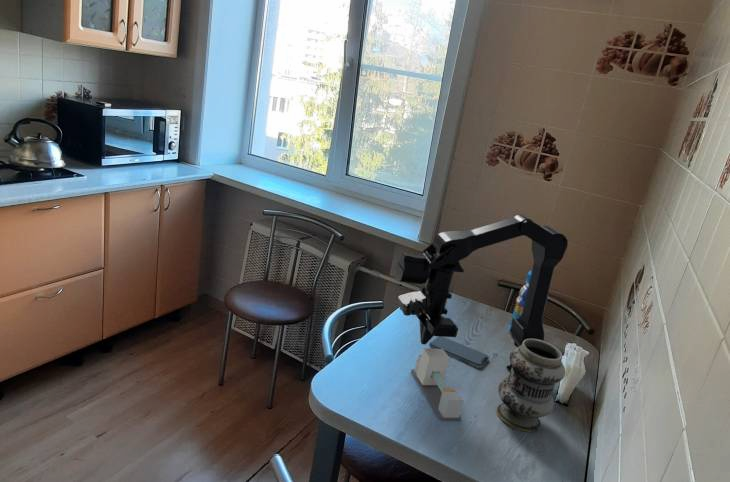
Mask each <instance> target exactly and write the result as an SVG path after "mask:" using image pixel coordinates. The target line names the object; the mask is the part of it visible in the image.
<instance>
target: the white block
mask: <svg viewBox="0 0 730 482" xmlns="http://www.w3.org/2000/svg"><path fill="white" fill-rule="evenodd" d="M421 355H422V356H421V360H420V363H419V367H418V371H417V377H418V378H419V380H420V382H421V384H422V385H437V384H436V382H435V381H434V379H433V378H432V376H431V375H432V371H436V372H438V373H439V375H440V376H441V378H442V379H443V381H444V380H445V376H446V372H447V371H448V370H447V369H448V366H449V362H450V356H449V355H447V354H446V353H445V351H444V350H443V349H434V348H432V347H430V348H429V347H428V348H426V347H424V348H422V352H421Z"/></svg>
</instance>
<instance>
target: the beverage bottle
mask: <svg viewBox="0 0 730 482" xmlns="http://www.w3.org/2000/svg"><path fill="white" fill-rule="evenodd" d="M531 273H532V270H529V271H528V273H527V275H526V279H525V283H526V284H524V285H523V286H522V287H521V289H520V290H519V295H518V297H516V301H515V306H514V309H513V312H512V316H511V319H510V322H509V325H508V328H507V330H508V331H509V330H510V329H511V326H512V319H513V318H515V319H518V318H519V317H520V316H521V315H522V313H523V309H524V305H525V300H526V296H527V291H528V287H529V282H530V278H531ZM547 302H548V300H547V301H546V303H547ZM545 309H546V308H545ZM545 309H544V311H545Z"/></svg>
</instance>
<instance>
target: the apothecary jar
mask: <svg viewBox="0 0 730 482" xmlns="http://www.w3.org/2000/svg"><path fill="white" fill-rule="evenodd" d="M562 359H563V354H562V352H561V350H560V349H559V348H557V347H556V346H554V345H553V344H551V343H549V342H547V341H545V340H544V341H542V340H539V339H526V340H524V341H523V342H522V345H521V346H519V347H516V346H515V348H513V349H512V350H511V351H510V353H509V361H510V363H511V365H512V369H511V372H510V371H509V374H508V377H505V378H503V380H501V382H500V383H499V385H498V390H497V391H498V395H499V398H500V400H501V402H502V403H500V404H499V405H498V406H497V408H496V413H497V416H498V417H499V419H500V420H501V421H502V422H503V423H505V424H506V425H507V426H510V427H511V428H512V429H515V430H517V431H520V432H526V433H531V432H533V431H539V430H540V428H541V426H542V424H541V420H540V418H543V417H547V416H548V415H550V414H551V412H552V411H553V409H554V404H555V403H554V399H553V396H552V394H553V390H554V387H555V385H556V384H557V383H560V382H562V380H563V379H564V377H565V376H566V368H565V365H564V364H563V361H562Z"/></svg>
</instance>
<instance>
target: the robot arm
mask: <svg viewBox="0 0 730 482" xmlns="http://www.w3.org/2000/svg"><path fill="white" fill-rule="evenodd" d="M523 236H525V237H527V238H529V239H530V240H531V254H532V258H533V265H532V270H531V271H532V273H531V278H530V282H529V287H528V291H527V296H526V300H525V305H524V309H523V313H522V315H521V316H520V317H519V318H518V319H515V318H513V319H512V318H511V319H512V326H511V329H510V330H508V333H509V334H510V336H511V339H512V340H513V343H514V344H513V345H514V346H515V348H516V347H519V346H521V345H522V342H523V341H524V340H526V339H539V340H542V341H545V331H544V324H543V317H544V312H545V310H544V309H546V306H547V305H546V304H547V302H548V297H549V292H550V288H551V283H552V280H553V274H554V270H555V268H556V266H557V265H558V264H560V262H561V261H562V260H563V258H564V257H565V253H566V251H567V249H568V246H569V241H568V239H567V237H566V235H564V234H563V233H561V232H560V231H557V230H556V229H555V228H553V227H551V226H549V225H542V226H541V225H540V224H537V223H536V222H535V221H533V220H532V219H531V218H529V217H527V216H526V215H524V214H517V215H514V217H510V218H506V219H504V220H500V221H497V222H493V223H491V224H487V225H484V226H480V227H476V228H474V229H470V230H469V229H468V230H448V231H441V232H440V233H438V234H436V235H435V237H434V238H433V241H432V242H431V243H430V244H429V245H428V246H427V247H426V248H424V249H423V250H422V251H421V252H420V254H421V255H418V254H411V253H408V252H402V256H401V257H400V258H399V260H398V262H397V263H396V267H395V279H396V280H395V281H396V282H397V283H403V284H415V285H419V286H420V285H421V286H420V288H419V290H413V289H411V290H410V291H409V292H407V293H404V294H401V295H399V296H398V298H397V299H398V304H399V310H400V311H401V312H402V313H403V315H404V316H411V315H412V316H416V317H417V319H418V321H419V332H420V333H419V336H420V343H421V345H424V346H426V345H427V344H428V343H429V341H430V340H432V338H433V337H439V336H441V337H445V338H447V337H448V338H456V337H457V336H458V333H459V327H458V326H457V324H456V323H455V322H454V321H453V320H452V318H450V317H445V315H448V309H447V308H446V305H447V301H448V299H452V296H453V295H452V293H451V292H450V290H451V286H452V282H453V279H454V274H455V273H464V272H465V269H464V268H463V267H462V266H461V264H460V261H462V260H464V259H466V258H467V257H470V255H471V254H472V253H473V252H475V251H478V250H479V249H483V248H486V247H489V246H492V245H496V244H499V243H502V242H505V241H508V240H511V239H515V238H518V237H523ZM435 255H437V256H435ZM546 301H547V302H546ZM506 369H507V371H509V373H510V372H511V369H512V365H511V363H510V364H509V365H506Z"/></svg>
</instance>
